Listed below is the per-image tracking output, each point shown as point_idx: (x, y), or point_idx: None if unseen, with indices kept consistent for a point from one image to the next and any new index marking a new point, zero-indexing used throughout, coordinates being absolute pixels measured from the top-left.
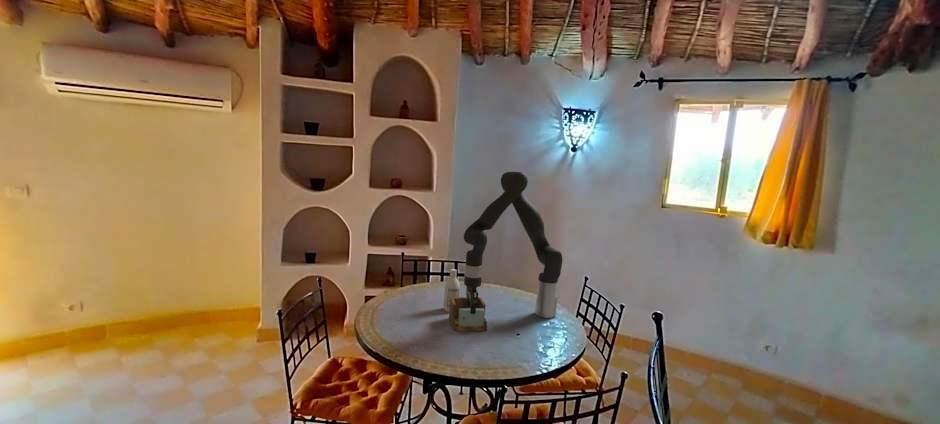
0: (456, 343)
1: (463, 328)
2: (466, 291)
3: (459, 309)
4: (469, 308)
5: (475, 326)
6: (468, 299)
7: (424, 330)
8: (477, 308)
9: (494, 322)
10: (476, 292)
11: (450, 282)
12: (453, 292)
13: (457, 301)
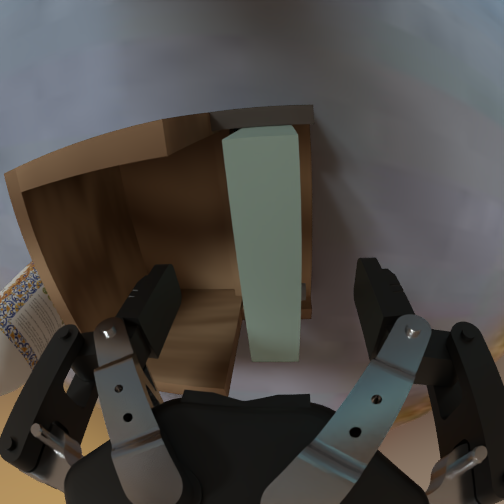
0: (434, 290)
1: (311, 255)
2: (81, 396)
3: (268, 358)
4: (245, 296)
5: None
6: (157, 346)
7: (296, 378)
8: (234, 218)
9: (158, 44)
10: (502, 498)
11: (8, 388)
12: (31, 340)
13: None
